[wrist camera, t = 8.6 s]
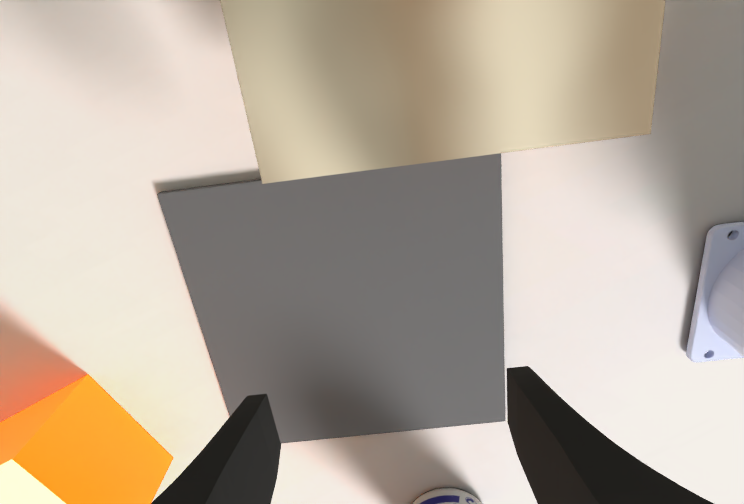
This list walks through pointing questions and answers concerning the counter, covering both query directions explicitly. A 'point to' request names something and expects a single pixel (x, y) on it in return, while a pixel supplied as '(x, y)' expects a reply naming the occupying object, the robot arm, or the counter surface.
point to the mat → (352, 295)
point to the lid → (437, 78)
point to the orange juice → (78, 451)
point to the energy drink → (447, 497)
